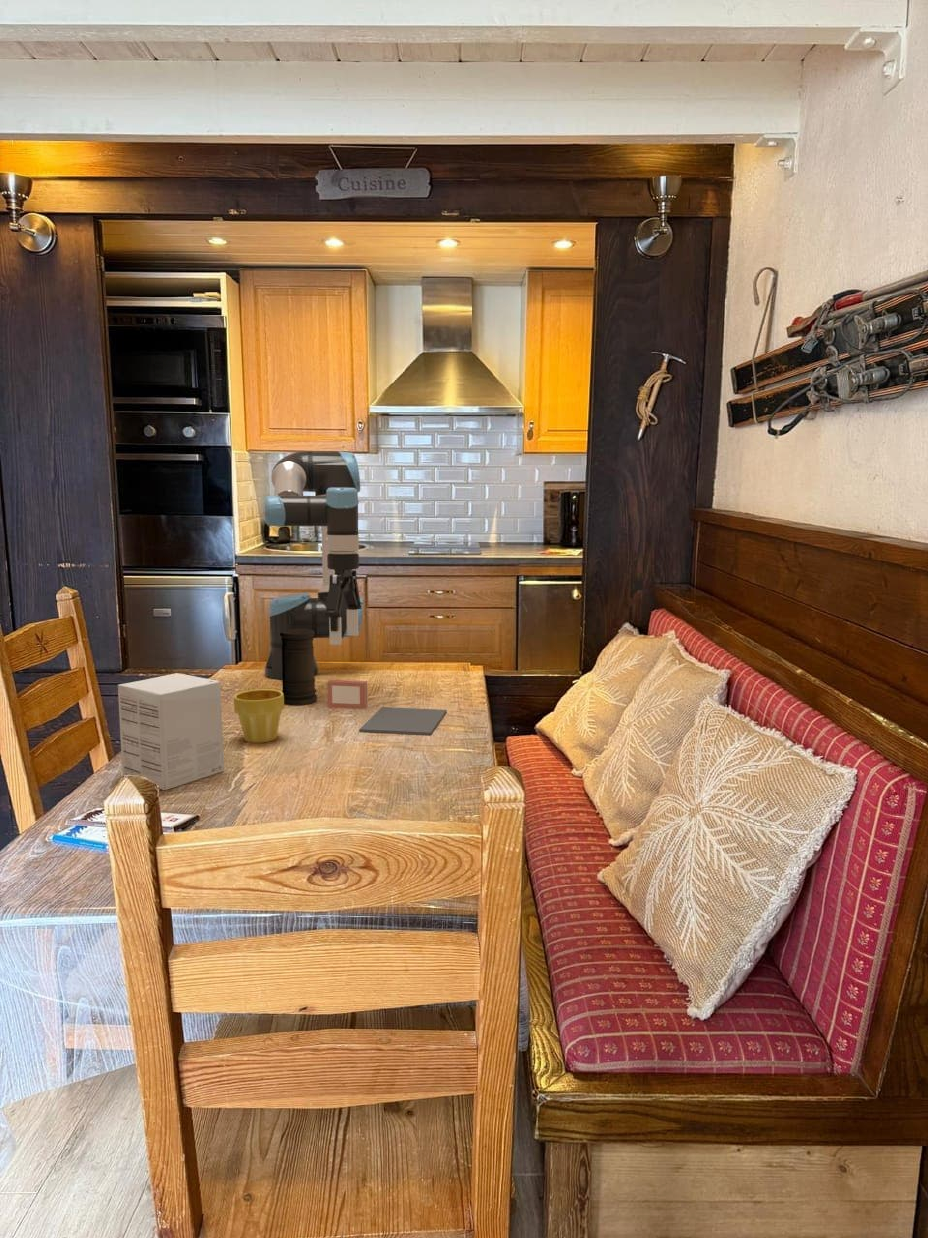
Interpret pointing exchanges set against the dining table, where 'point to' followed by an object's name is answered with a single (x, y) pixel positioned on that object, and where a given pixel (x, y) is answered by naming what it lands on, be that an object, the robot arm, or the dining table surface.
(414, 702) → the dining table surface
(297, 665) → the container
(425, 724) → the mat
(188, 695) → the supplement box
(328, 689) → the card box
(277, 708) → the plant pot
